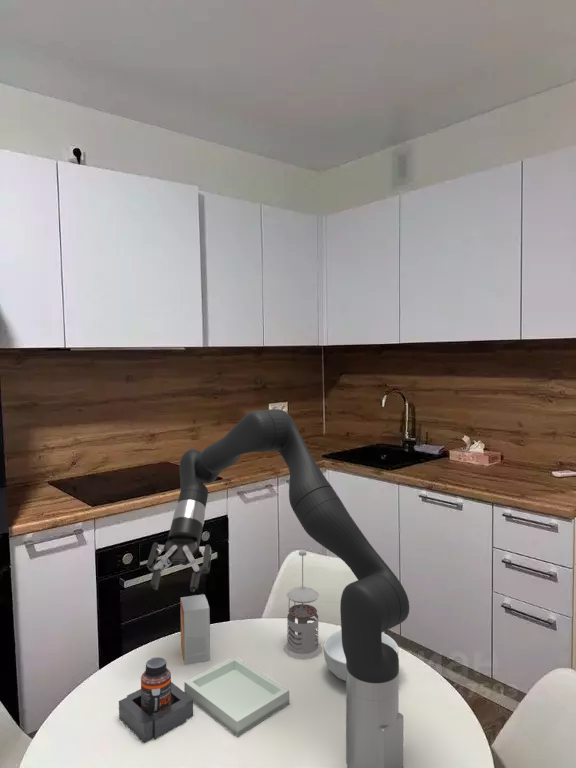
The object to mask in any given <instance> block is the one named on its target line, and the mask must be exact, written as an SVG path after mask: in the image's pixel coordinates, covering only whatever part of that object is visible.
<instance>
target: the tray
mask: <svg viewBox="0 0 576 768" xmlns="http://www.w3.org/2000/svg"><path fill="white" fill-rule="evenodd" d="M183 682H184V685H183V687H184V690H183V692H185V693H186V694H187V695H189V696H190V697H191V698H192V699H193V704H195V706H197V707H199V708H200V709H202V711H204V712H205V713H206V714H207V715H209V716H210V717H211V718H212V719H214V720H215V721H216V722H217V723H219V724H220V725H221V726H223V727H224V728H225V729H226V730H228V731H229V732H230V733H232V735H234V736H235V737H236V738H238V737H240V736H242V735H243V734H244V733H246V732H247V731H250V730H251V729H253V728H254V727H255V726H257V725H258V724H261V723H262V722H263V721H265V720H267V719H268V718H270V717H272V716H273V715H274V714H276V713H278V712H280V710H283V709H284V708H286V707H287V706H289V705H290V689H288V688H287V687H286V686H283V684H280V683H279V682H277V681H275V680H274V679H272V678H271V677H269V676H268V675H266V674H264V673H263V672H262V671H259V670H258V669H256V668H255V667H253V666H251V664H248V663H246V662H245V661H244V660H242V659H240V658H239V657H238V656H234V657H232V658H229V659H228V660H225V661H224V662H221V663H220V664H217V665H215V666H212V667H210V668H209V669H206V670H205V671H203V672H200V673H199V674H196V675H195V676H193V677H191V678H189V679H187V680H184V681H183Z"/></svg>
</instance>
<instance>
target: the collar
mask: <svg viewBox="0 0 576 768" xmlns="http://www.w3.org/2000/svg"><path fill="white" fill-rule="evenodd" d="M193 717H194V702H193V699H192V698H191V697H190V696H189V695H187V694H186V693H185V692H184V690H182V689H181V688H180V687H178V686H177V685H176V684H174V683H173V682H172V681H171V705H170V706H168V707H167V708H165V709H163V710H161V711H159V712H157V713H155V714H153V715H151V716H149V715H147V714H146V713H145V712H144V711H143V710H142V709H141V688H140V689H138V690H136V691H134V692H131V693H129V694H127V695H126V697H124V698H123V699H120V700H118V718H119V719H120V721H121V722H122V723H123V724H124V725H126V727H127V728H128V729H129V730H130V731H131V732H132V733H134V735H135V736H137V738H138V739H139V740H140V741H141V742H142V743H143V744H145V743H147V742H149V741H151V740H153V739H154V740H157V739H158V738H160V737H162V736H164V735H166V734H168V733H169V732H171V731H173V730H175V729H176V728H178V727H180V726H182V725H183V724H185V723H187V720H188V719H190V718H193Z"/></svg>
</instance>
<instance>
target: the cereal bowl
mask: <svg viewBox="0 0 576 768" xmlns="http://www.w3.org/2000/svg"><path fill="white" fill-rule="evenodd" d="M382 643H385V644H387V645H389V646H390V647H392V648H393V649H394V650H395V651H396V653H397V655H398V656H399V646H398V643H397V642H396V641H395V639H393V638H392V636H390V635H388V634H386V633H385V632H382ZM323 655H324V660H325V663H326V666H327V668H328V669H329V670H330V672H331V673H332V674H333V675H335V677H337V678H339V679H340V680H343V681H345V682H346V657H345V654H344V651H343V646H342V632H341V630H338V631H336V632H333V633H331V634H330V635H329V636H327V637H326V639H325V641H324V643H323Z"/></svg>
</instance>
